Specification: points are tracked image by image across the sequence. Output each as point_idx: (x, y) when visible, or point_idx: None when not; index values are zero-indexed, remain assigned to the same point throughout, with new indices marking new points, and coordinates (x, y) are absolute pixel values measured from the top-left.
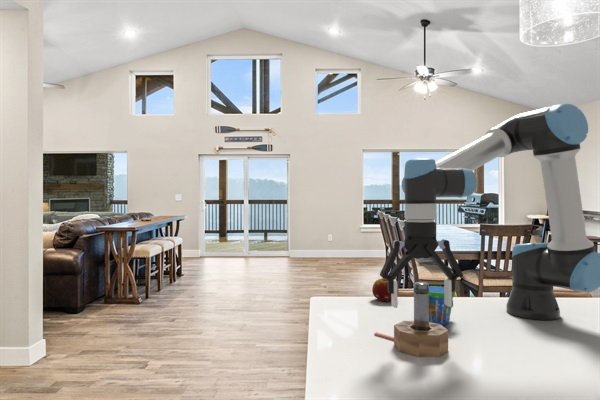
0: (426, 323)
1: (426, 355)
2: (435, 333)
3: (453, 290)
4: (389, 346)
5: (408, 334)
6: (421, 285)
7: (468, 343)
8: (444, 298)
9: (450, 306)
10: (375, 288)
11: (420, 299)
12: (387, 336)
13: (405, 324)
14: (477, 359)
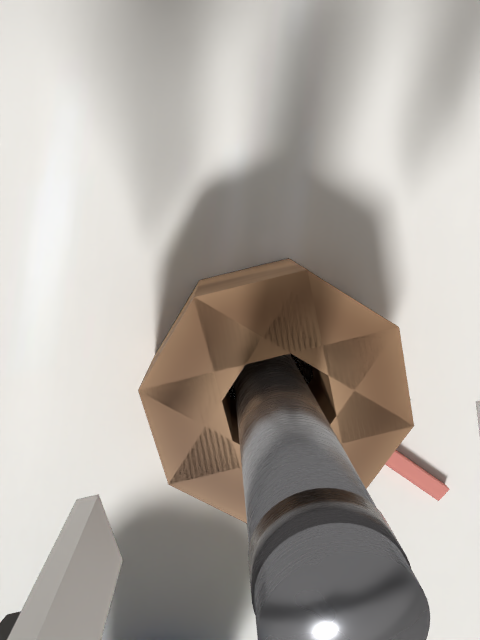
0: (255, 390)
1: (256, 266)
2: (212, 323)
3: (5, 628)
4: None
5: (354, 300)
6: (355, 553)
7: (58, 462)
8: (112, 593)
9: (85, 498)
10: None
11: (324, 460)
12: (398, 459)
13: (352, 445)
14: (42, 277)
